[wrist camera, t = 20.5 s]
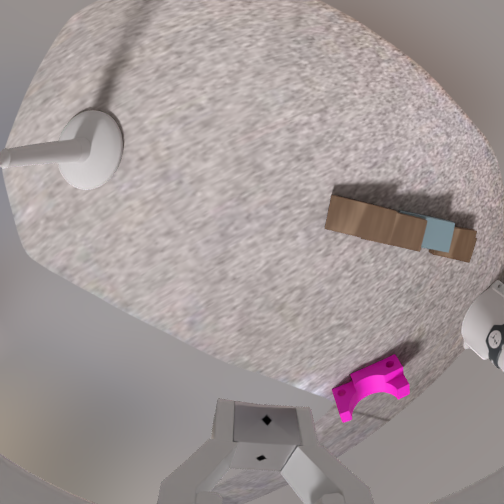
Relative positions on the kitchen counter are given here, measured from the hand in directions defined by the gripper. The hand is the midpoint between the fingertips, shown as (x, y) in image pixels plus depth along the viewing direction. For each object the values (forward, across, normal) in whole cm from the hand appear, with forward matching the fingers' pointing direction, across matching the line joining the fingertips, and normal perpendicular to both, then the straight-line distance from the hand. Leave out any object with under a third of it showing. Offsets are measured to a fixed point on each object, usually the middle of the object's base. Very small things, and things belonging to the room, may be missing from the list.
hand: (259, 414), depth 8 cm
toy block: (+36, -31, +30) cm, 56 cm away
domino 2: (+34, -17, -2) cm, 39 cm away
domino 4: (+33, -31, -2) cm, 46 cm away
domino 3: (+34, -23, -2) cm, 42 cm away
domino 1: (+34, -11, -2) cm, 36 cm away
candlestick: (+35, +27, -5) cm, 45 cm away
